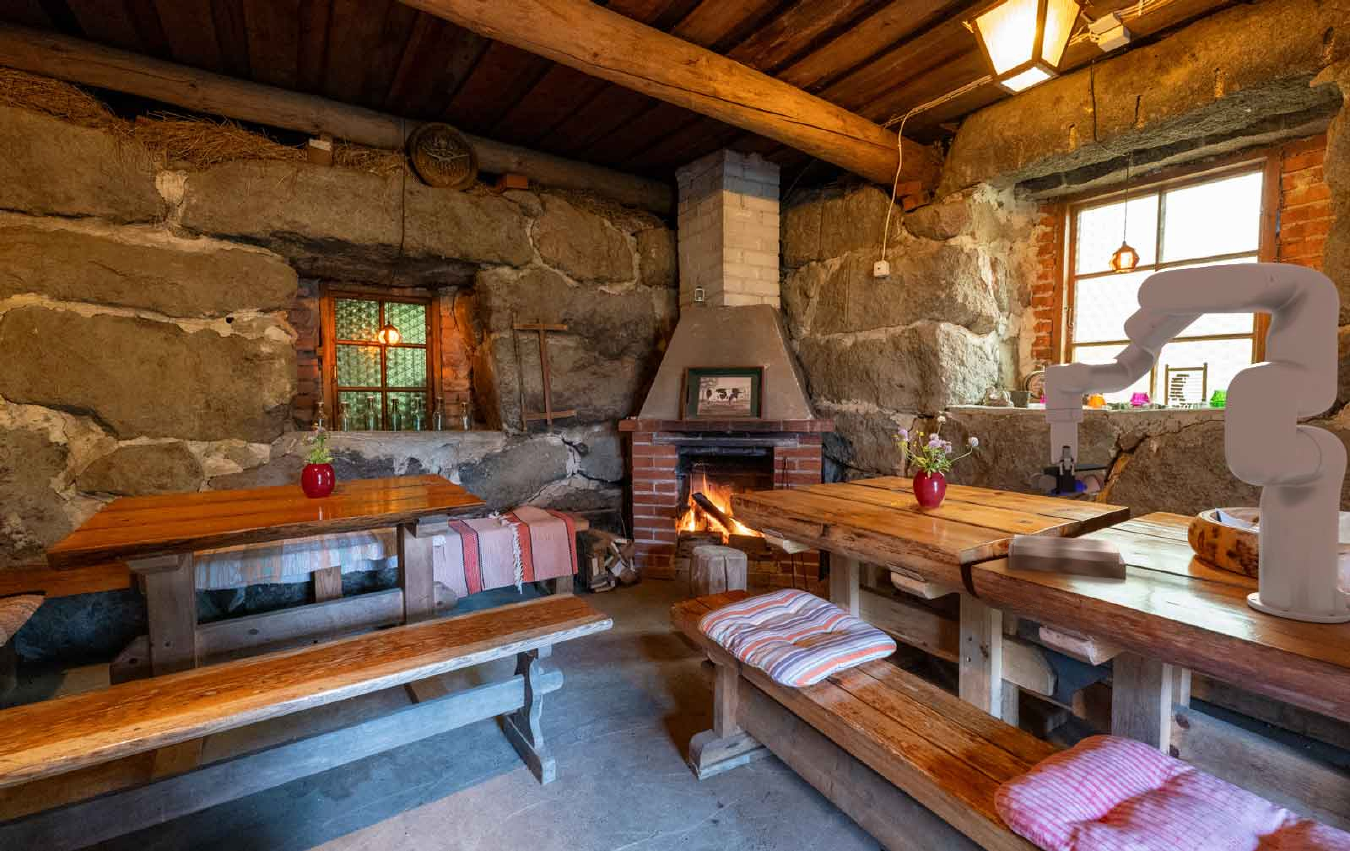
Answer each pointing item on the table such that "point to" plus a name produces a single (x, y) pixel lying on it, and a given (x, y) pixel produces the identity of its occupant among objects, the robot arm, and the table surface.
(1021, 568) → the plinth
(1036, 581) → the table surface
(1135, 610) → the table surface
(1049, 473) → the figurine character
